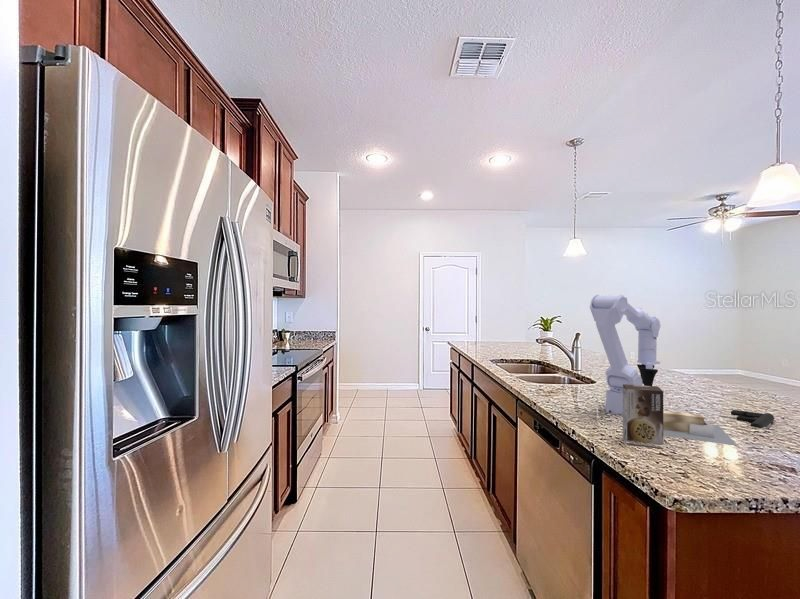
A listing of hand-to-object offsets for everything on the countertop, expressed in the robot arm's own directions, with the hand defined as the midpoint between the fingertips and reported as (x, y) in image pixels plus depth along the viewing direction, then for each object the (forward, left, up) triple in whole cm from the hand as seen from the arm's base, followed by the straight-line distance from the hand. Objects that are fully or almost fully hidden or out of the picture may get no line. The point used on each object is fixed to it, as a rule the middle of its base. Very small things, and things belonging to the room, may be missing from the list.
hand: (646, 385), depth 147 cm
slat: (+5, -26, -8) cm, 28 cm away
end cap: (+11, -26, -8) cm, 29 cm away
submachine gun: (+28, 0, -10) cm, 29 cm away
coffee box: (-5, -40, -10) cm, 41 cm away
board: (+8, -24, -9) cm, 27 cm away
